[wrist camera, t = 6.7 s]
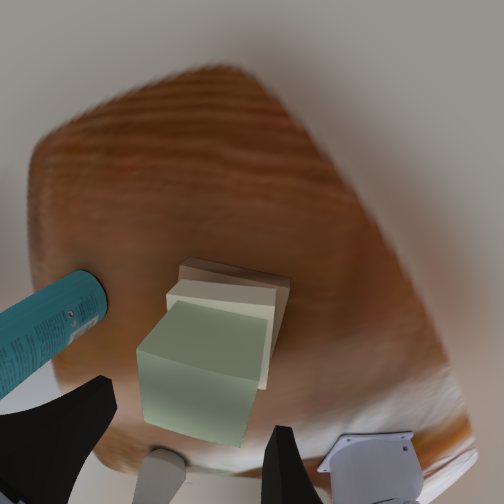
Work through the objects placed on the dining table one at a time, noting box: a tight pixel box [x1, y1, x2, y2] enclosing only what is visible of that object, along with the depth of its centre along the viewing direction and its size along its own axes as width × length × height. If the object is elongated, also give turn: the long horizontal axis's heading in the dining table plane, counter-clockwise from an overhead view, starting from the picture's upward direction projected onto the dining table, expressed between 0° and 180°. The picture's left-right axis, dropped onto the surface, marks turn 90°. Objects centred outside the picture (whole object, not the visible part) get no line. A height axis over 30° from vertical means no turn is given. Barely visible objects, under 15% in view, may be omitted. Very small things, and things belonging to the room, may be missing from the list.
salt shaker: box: [132, 448, 186, 504], centre depth 20 cm, size 6×6×13 cm
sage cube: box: [136, 300, 267, 448], centre depth 13 cm, size 5×5×5 cm
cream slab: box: [166, 279, 276, 390], centre depth 16 cm, size 6×6×2 cm
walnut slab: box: [178, 257, 290, 369], centre depth 19 cm, size 7×7×2 cm
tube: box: [0, 270, 107, 400], centre depth 11 cm, size 7×5×19 cm, turn 156°
